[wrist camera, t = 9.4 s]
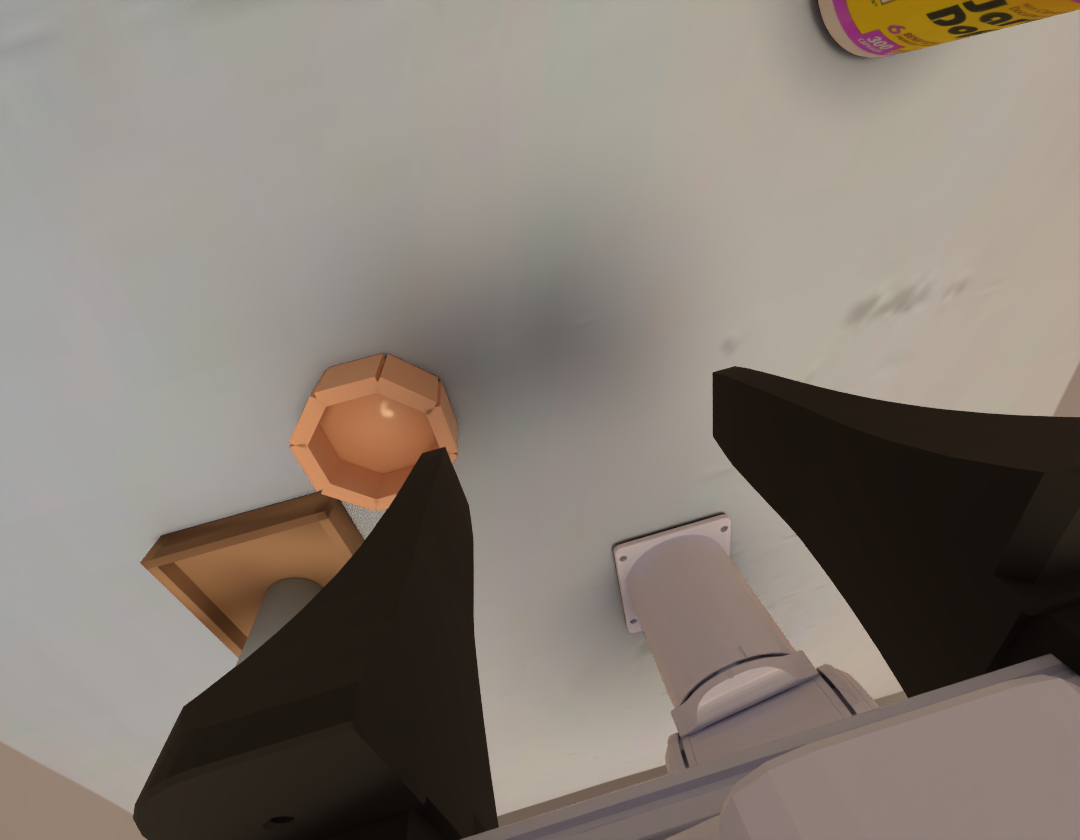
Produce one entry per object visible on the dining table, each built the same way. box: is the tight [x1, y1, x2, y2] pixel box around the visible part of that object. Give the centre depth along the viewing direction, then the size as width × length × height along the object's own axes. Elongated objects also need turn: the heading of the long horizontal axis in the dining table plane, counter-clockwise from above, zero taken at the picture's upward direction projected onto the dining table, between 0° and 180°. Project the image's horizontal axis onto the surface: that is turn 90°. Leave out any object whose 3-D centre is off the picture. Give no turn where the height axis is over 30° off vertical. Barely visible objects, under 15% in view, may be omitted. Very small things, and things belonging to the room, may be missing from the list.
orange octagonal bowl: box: [289, 353, 458, 511], centre depth 21 cm, size 7×7×3 cm
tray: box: [140, 491, 364, 658], centre depth 25 cm, size 12×9×2 cm
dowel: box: [236, 578, 323, 666], centre depth 22 cm, size 3×3×8 cm
